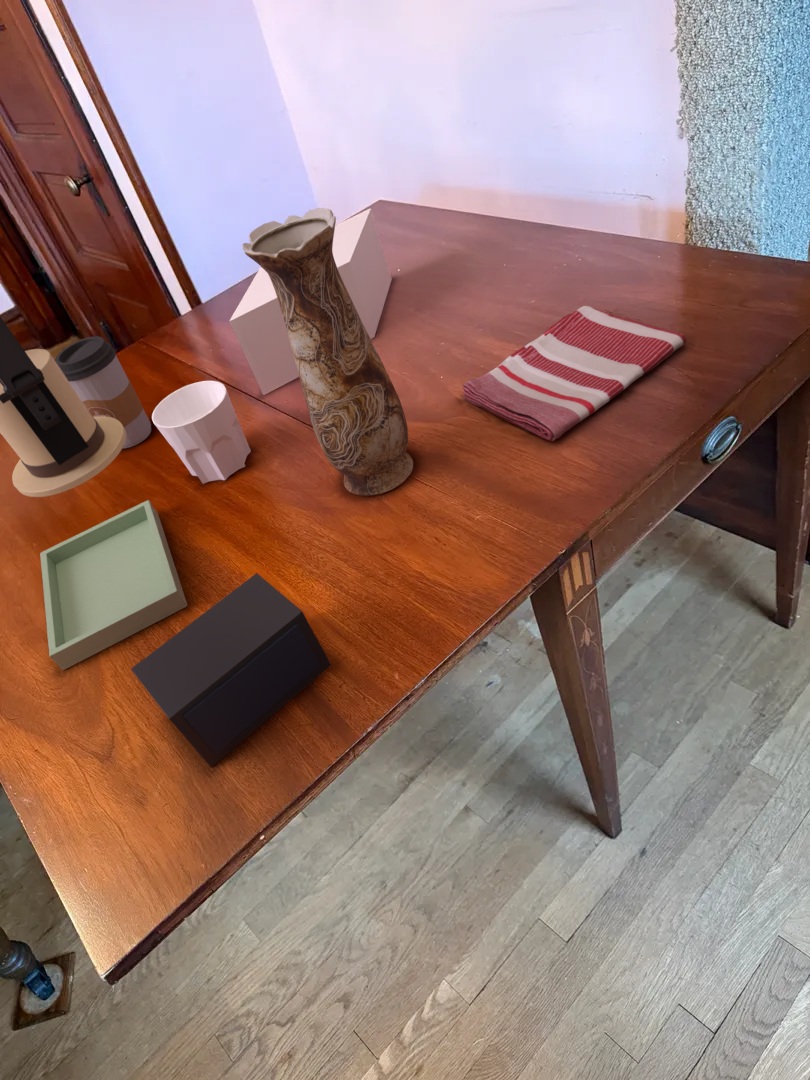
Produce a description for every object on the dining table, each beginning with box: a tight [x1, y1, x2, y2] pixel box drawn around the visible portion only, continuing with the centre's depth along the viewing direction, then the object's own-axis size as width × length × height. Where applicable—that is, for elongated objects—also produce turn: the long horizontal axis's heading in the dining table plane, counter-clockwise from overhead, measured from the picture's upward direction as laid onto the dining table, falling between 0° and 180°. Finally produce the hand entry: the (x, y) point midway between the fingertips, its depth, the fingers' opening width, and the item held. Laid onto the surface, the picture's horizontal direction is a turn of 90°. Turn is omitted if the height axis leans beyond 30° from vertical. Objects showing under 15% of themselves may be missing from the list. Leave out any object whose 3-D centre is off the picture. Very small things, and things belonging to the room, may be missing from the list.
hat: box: [0, 348, 126, 498], centre depth 61 cm, size 10×10×9 cm
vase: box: [241, 207, 414, 496], centre depth 81 cm, size 10×11×30 cm
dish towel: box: [462, 305, 687, 442], centre depth 94 cm, size 17×23×3 cm
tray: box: [39, 499, 188, 671], centre depth 88 cm, size 20×15×3 cm
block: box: [228, 207, 393, 396], centre depth 117 cm, size 18×35×12 cm, turn 145°
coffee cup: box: [54, 335, 152, 449], centre depth 108 cm, size 8×8×15 cm
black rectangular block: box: [130, 572, 332, 768], centre depth 68 cm, size 14×8×8 cm, turn 130°
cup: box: [151, 380, 252, 485], centre depth 98 cm, size 10×10×10 cm
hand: (57, 439), depth 62 cm, fingers closed on hat, 7 cm apart
